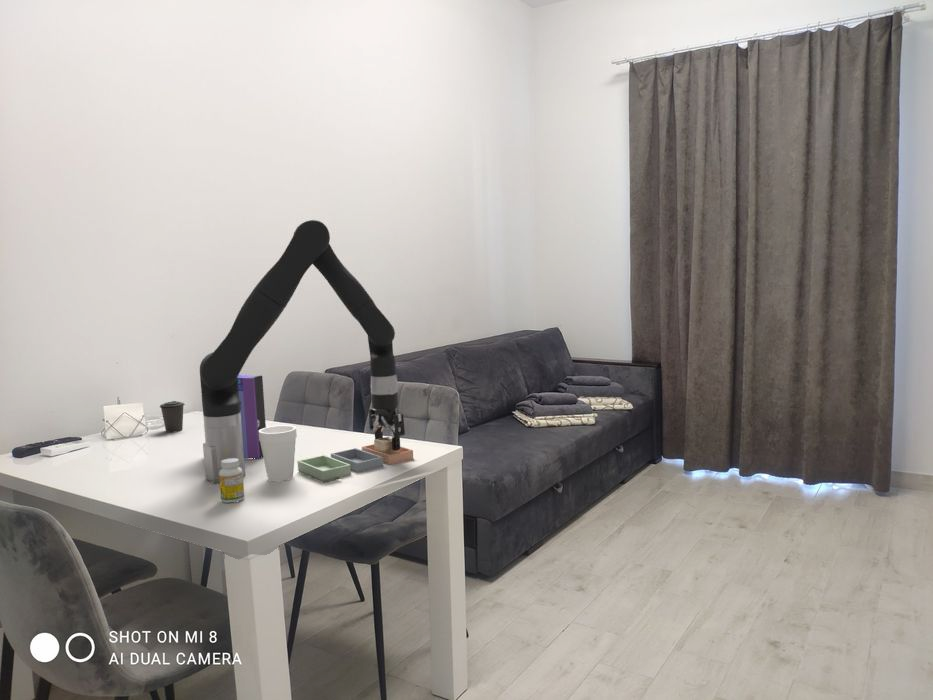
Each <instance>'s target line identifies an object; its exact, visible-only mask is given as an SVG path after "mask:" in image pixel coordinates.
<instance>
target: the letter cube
mask: <svg viewBox="0 0 933 700" xmlns="http://www.w3.org/2000/svg"><path fill="white" fill-rule="evenodd" d="M373 443H374V446H375V451H379V452H382V453H385V454H388V455H392V454H396V453H399V450H397V451H393V450H392V436H385V437H384V436H383V438H379V439H375V438H374V441H373Z"/></svg>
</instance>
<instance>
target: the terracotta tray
mask: <svg viewBox="0 0 933 700" xmlns="http://www.w3.org/2000/svg"><path fill="white" fill-rule="evenodd" d="M361 450H363V451H366V452H369V453H372V454H375V455H378V456H381V457H383V464H387V465H393V464H397V463H400V462H401V463H402V462H405V461H409V460H414V451H413V450H414V449H410V448H407V447H404V446H401V445H400V450H399V453H396V454H392V455H388V454H385V453H382V452H379V451H375V446H374V444H373V443H372V444H368V445H364V446H361Z"/></svg>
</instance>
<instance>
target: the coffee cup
mask: <svg viewBox="0 0 933 700" xmlns="http://www.w3.org/2000/svg"><path fill="white" fill-rule="evenodd" d="M185 404H186V403H185V402H182V401H177V400H171V401H168V402H165V403H162V404H160V406H159V408H160V409H161V414H162V419H163V423H164V428H165V429H164V430H165V432H166V431H169V432H168V433H175V432H174V431H177V432H181V431H183V428H184V427H183V426H184V423H183V422H184V406H185ZM180 430H181V431H180Z"/></svg>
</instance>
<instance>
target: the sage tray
mask: <svg viewBox="0 0 933 700" xmlns="http://www.w3.org/2000/svg"><path fill="white" fill-rule="evenodd" d="M297 471H299V472H298V473H300V472H301V473H300V474H302V473H303V475H305V476H308V477H309V476H310V477H309V478H312V479H314V480H316V481H318V482H321V483H328V482H332V481H337V480H341V478H340V477H345V476H349V475H351V474H352V470H351V465H350V464H347V463H344V462H342V461H339V460H336V459H334V458H331V456H328V455H325V454H322V455H318V456H314V457H313V456H312V457H310V458H305V459H301V460H297ZM336 479H337V480H336Z"/></svg>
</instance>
